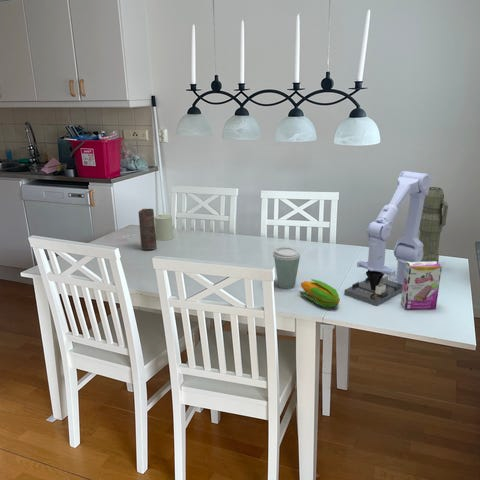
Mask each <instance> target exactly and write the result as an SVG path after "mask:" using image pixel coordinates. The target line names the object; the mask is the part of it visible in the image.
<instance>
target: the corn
mask: <svg viewBox="0 0 480 480" xmlns="http://www.w3.org/2000/svg"><path fill="white" fill-rule="evenodd" d="M300 287H301V288H302V290H303V291H304V292H305V293H303V292H302V291H300V293H301V294H302V295H303V296H304V297H305V298H307V299H308V300H310V301H312V303H313V302H314V303H315V304H317V305H318V306H321V307H324V308H333V307H336V306H338V305H339V303H340V302H341V301H340V300H341V298H340V296H339V294H338V291H337V290H336V288H334V287H332V286H331V285H329V284H327V283H326V282H324V281H322V280H318V279H317V280H316V279H314V278H312V279H311V281H308V280H304V281H302V282H300ZM307 294H308V295H307Z"/></svg>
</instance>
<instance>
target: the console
mask: <svg viewBox="0 0 480 480" xmlns="http://www.w3.org/2000/svg"><path fill="white" fill-rule="evenodd" d="M384 285H386V291H385V293H383V294H381V295H379V294H376V293H375V291H373V290H371V286H370V282H369V279H368V277H365V280H362V281H360V282H359V281H357V282H356V283H353V284H352V285H351V286H349V287H347V288H345V289H344V293H343V295H344V296H347V297H350V298H353V299H356V300H357V301H361V302H364V303H367V304H370V305H373V306H375V307H378V306H380V305H382V304H383V303H386V302H388V301H389V300H391V299H392V298H394V297H397V296H398V295H400V294H402V289H403V284H400V283H396V282H393V280H389V279H388V283H386V284H384Z"/></svg>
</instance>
